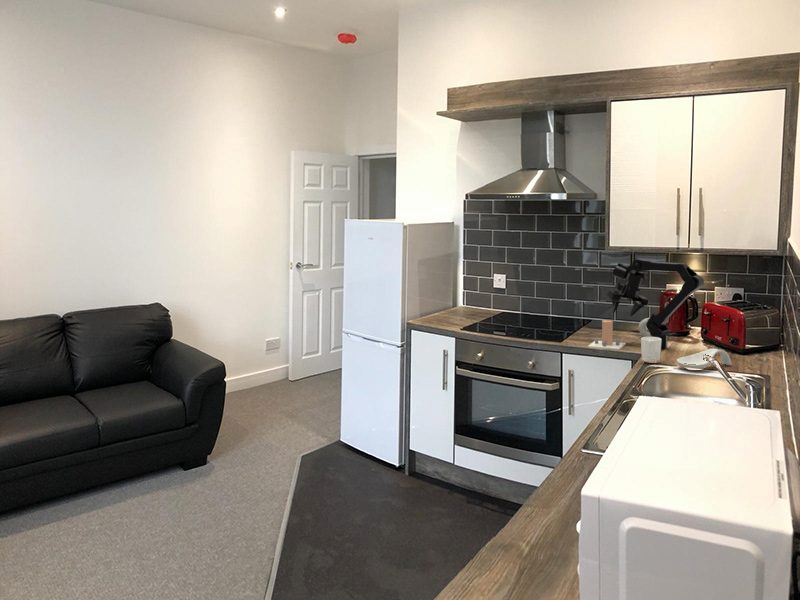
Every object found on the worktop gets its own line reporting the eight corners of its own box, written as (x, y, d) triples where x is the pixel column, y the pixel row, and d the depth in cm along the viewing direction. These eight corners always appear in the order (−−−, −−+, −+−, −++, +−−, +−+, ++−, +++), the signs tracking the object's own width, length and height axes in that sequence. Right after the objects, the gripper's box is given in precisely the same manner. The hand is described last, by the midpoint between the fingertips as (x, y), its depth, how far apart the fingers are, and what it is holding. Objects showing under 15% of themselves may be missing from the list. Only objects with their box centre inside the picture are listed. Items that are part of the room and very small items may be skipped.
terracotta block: (612, 343, 293) (612, 320, 291) (612, 345, 288) (612, 322, 287) (601, 343, 294) (602, 320, 293) (601, 345, 290) (602, 321, 288)
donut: (638, 337, 307) (638, 317, 306) (638, 336, 311) (639, 316, 309) (659, 339, 303) (660, 318, 302) (660, 337, 306) (660, 317, 305)
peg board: (625, 344, 294) (625, 337, 293) (619, 350, 282) (619, 343, 281) (595, 341, 301) (595, 335, 300) (587, 347, 289) (588, 340, 289)
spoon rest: (693, 375, 238) (694, 356, 237) (670, 368, 249) (670, 350, 248) (738, 368, 247) (739, 350, 246) (714, 361, 258) (714, 344, 257)
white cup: (650, 365, 254) (651, 341, 252) (636, 361, 261) (636, 337, 260) (665, 362, 257) (665, 339, 255) (650, 359, 264) (651, 335, 263)
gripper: (643, 281, 298) (632, 310, 304) (607, 274, 295) (597, 304, 300) (654, 289, 288) (642, 319, 294) (617, 283, 285) (606, 314, 290)
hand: (622, 314), depth 295 cm, fingers open, 9 cm apart
